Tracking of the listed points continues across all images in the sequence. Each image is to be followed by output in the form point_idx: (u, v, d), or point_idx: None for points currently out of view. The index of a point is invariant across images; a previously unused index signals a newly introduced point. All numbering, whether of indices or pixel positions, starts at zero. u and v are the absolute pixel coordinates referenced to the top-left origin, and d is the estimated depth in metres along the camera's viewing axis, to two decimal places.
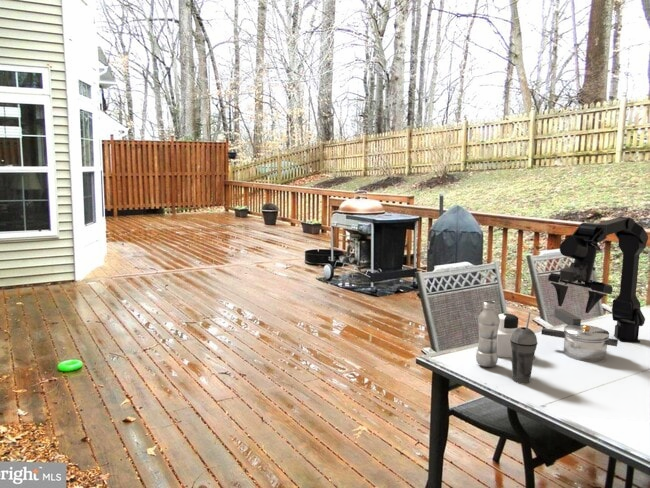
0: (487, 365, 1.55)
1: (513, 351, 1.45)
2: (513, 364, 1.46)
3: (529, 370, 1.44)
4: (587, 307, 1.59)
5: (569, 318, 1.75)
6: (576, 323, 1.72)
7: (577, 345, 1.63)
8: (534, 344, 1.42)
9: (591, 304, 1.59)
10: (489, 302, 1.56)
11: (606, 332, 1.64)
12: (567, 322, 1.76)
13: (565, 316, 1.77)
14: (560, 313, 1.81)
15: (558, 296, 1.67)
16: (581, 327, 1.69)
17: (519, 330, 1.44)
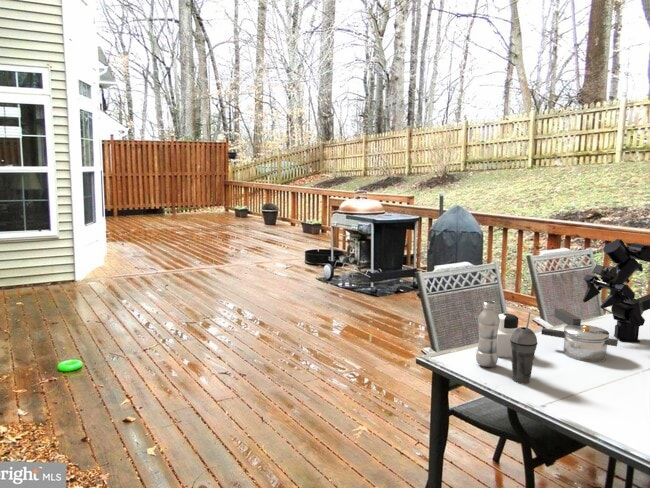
0: (487, 365, 1.55)
1: (513, 351, 1.45)
2: (513, 364, 1.46)
3: (529, 370, 1.44)
4: (603, 302, 1.74)
5: (569, 318, 1.75)
6: (576, 323, 1.72)
7: (577, 345, 1.63)
8: (534, 344, 1.42)
9: (608, 301, 1.73)
10: (489, 302, 1.56)
11: (606, 332, 1.64)
12: (567, 322, 1.76)
13: (565, 316, 1.77)
14: (560, 313, 1.81)
15: (586, 293, 1.83)
16: (581, 327, 1.69)
17: (519, 330, 1.44)
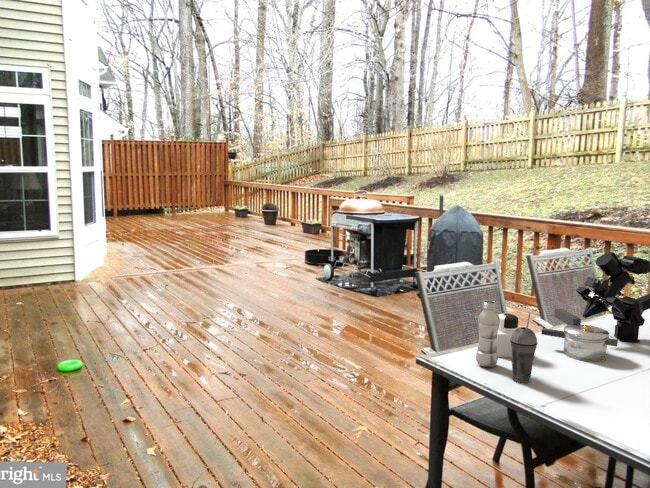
0: (487, 365, 1.55)
1: (513, 351, 1.45)
2: (513, 364, 1.46)
3: (529, 370, 1.44)
4: (586, 312, 1.78)
5: (569, 318, 1.75)
6: (576, 323, 1.72)
7: (577, 345, 1.63)
8: (534, 344, 1.42)
9: (591, 311, 1.77)
10: (489, 302, 1.56)
11: (606, 332, 1.64)
12: (567, 322, 1.76)
13: (565, 316, 1.77)
14: (560, 313, 1.81)
15: (586, 308, 1.79)
16: (581, 327, 1.69)
17: (519, 330, 1.44)
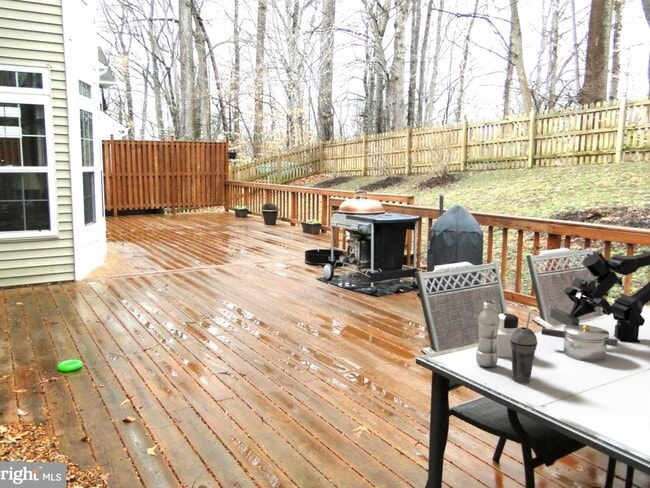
0: (487, 365, 1.55)
1: (513, 351, 1.45)
2: (513, 364, 1.46)
3: (529, 370, 1.44)
4: (574, 313, 1.77)
5: (567, 318, 1.74)
6: (575, 323, 1.72)
7: (577, 345, 1.63)
8: (534, 344, 1.42)
9: (578, 312, 1.76)
10: (489, 302, 1.56)
11: (606, 332, 1.65)
12: (565, 322, 1.76)
13: (563, 316, 1.77)
14: (557, 313, 1.80)
15: (573, 308, 1.78)
16: (580, 327, 1.69)
17: (519, 330, 1.44)
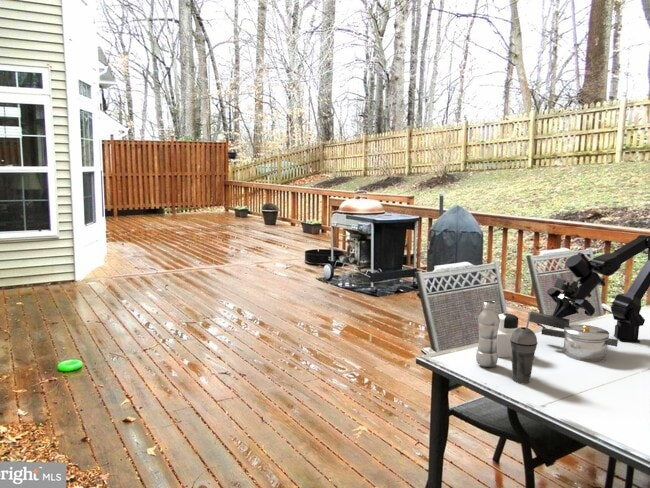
0: (487, 365, 1.55)
1: (513, 351, 1.45)
2: (513, 364, 1.46)
3: (529, 370, 1.44)
4: (556, 314, 1.75)
5: (558, 320, 1.72)
6: (567, 324, 1.71)
7: (577, 345, 1.63)
8: (534, 344, 1.42)
9: (561, 313, 1.75)
10: (489, 302, 1.56)
11: (599, 328, 1.68)
12: (554, 325, 1.73)
13: (550, 319, 1.74)
14: (540, 317, 1.76)
15: (555, 310, 1.77)
16: (576, 328, 1.69)
17: (519, 330, 1.44)
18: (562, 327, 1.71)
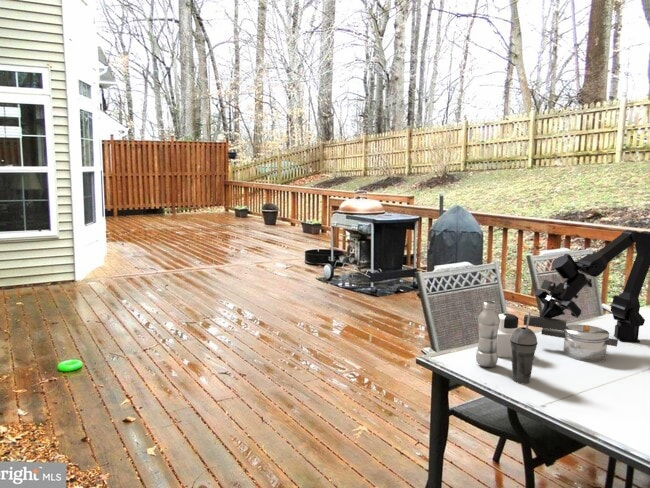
0: (487, 365, 1.55)
1: (513, 351, 1.45)
2: (513, 364, 1.46)
3: (529, 370, 1.44)
4: (543, 315, 1.74)
5: (557, 322, 1.69)
6: (566, 326, 1.69)
7: (577, 345, 1.63)
8: (534, 344, 1.42)
9: (547, 314, 1.74)
10: (489, 302, 1.56)
11: (594, 327, 1.70)
12: (553, 327, 1.70)
13: (548, 321, 1.71)
14: (537, 320, 1.72)
15: (542, 311, 1.76)
16: (575, 328, 1.68)
17: (519, 330, 1.44)
18: (561, 329, 1.69)
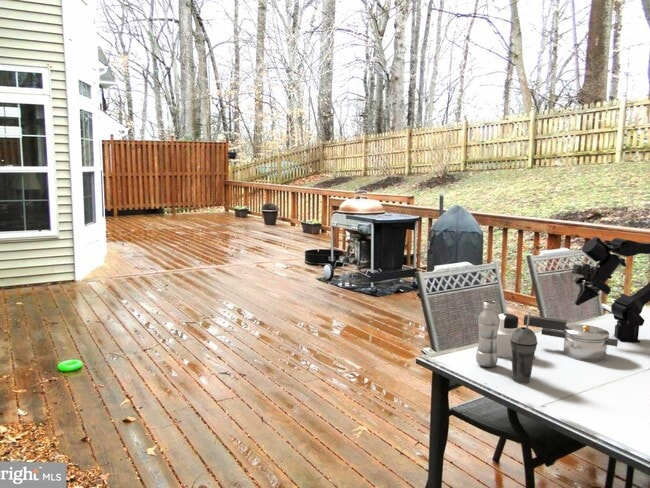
0: (487, 365, 1.55)
1: (513, 351, 1.45)
2: (513, 364, 1.46)
3: (529, 370, 1.44)
4: (577, 299, 1.79)
5: (557, 322, 1.69)
6: (566, 326, 1.69)
7: (577, 345, 1.63)
8: (534, 344, 1.42)
9: (582, 297, 1.78)
10: (489, 302, 1.56)
11: (594, 327, 1.70)
12: (553, 327, 1.70)
13: (548, 321, 1.71)
14: (537, 320, 1.72)
15: (578, 295, 1.80)
16: (575, 328, 1.68)
17: (519, 330, 1.44)
18: (561, 329, 1.69)
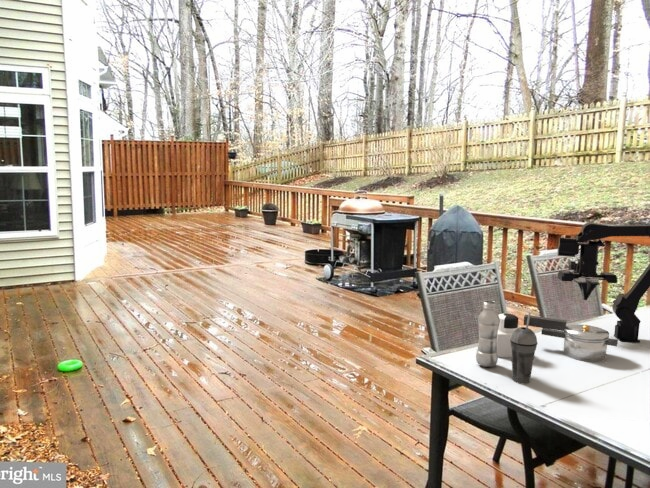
0: (487, 365, 1.55)
1: (513, 351, 1.45)
2: (513, 364, 1.46)
3: (529, 370, 1.44)
4: None
5: (557, 322, 1.69)
6: (566, 326, 1.69)
7: (577, 345, 1.63)
8: (534, 344, 1.42)
9: (581, 291, 1.87)
10: (489, 302, 1.56)
11: (594, 327, 1.70)
12: (553, 327, 1.70)
13: (548, 321, 1.71)
14: (537, 320, 1.72)
15: None
16: (575, 328, 1.68)
17: (519, 330, 1.44)
18: (561, 329, 1.69)
